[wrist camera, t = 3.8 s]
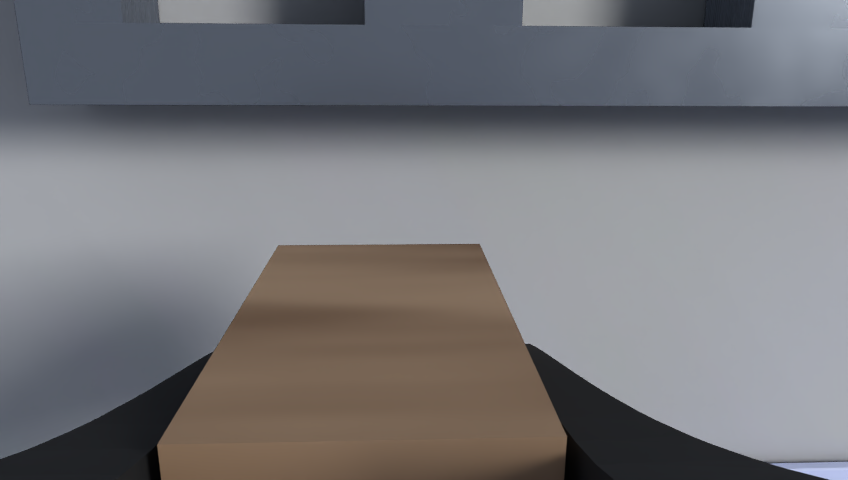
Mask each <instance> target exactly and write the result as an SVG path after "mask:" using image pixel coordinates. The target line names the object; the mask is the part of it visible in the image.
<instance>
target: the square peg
mask: <svg viewBox="0 0 848 480" xmlns="http://www.w3.org/2000/svg"><path fill="white" fill-rule="evenodd" d="M566 445H567V435H566V433H565V431H564V429H563V427H562V424H561V422H560V420H559V418H558V416H557V413H556V411H555V409H554V407H553V405H552V402H551V400H550V398H549V396H548V394H547V391H546V389H545V387H544V385H543V383H542V380H541V378H540V376H539V374H538V372H537V369H536V367H535V365H534V363H533V361H532V358H531V356H530V354H529V352H528V350H527V347H526V345H525V343H524V341H523V339H522V336H521V334H520V332H519V330H518V328H517V325H516V323H515V321H514V319H513V317H512V314H511V312H510V310H509V308H508V306H507V303H506V301H505V299H504V297H503V295H502V292H501V290H500V288H499V286H498V284H497V281H496V279H495V277H494V275H493V273H492V270H491V268H490V266H489V264H488V262H487V259H486V257H485V255H484V253H483V251H482V248H481V246H480V244H407V245H278V247H277V248H276V250H275V252H274V253H273V255H272V257H271V258H270V260H269V262H268V263H267V265H266V267H265V268H264V270H263V271H262V273H261V275H260V276H259V278H258V280H257V281H256V283H255V285H254V286H253V288H252V290H251V291H250V293H249V294H248V296H247V298H246V299H245V301H244V303H243V304H242V306H241V308H240V309H239V311H238V313H237V314H236V316H235V318H234V319H233V321H232V322H231V324H230V326H229V327H228V329H227V331H226V332H225V334H224V336H223V337H222V339H221V341H220V342H219V344H218V345H217V347H216V349H215V350H214V352H213V354H212V355H211V357H210V359H209V360H208V362H207V364H206V365H205V367H204V369H203V370H202V372H201V373H200V375H199V377H198V378H197V380H196V382H195V383H194V385H193V387H192V388H191V390H190V392H189V393H188V395H187V396H186V398H185V400H184V401H183V403H182V405H181V406H180V408H179V410H178V411H177V413H176V415H175V416H174V418H173V420H172V421H171V423H170V424H169V426H168V428H167V429H166V431H165V433H164V434H163V436H162V438H161V439H160V441H159V443H158V444H157V448H158V456H159V465H160V473H161V480H564V473H565V459H566Z"/></svg>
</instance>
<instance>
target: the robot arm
mask: <svg viewBox="0 0 848 480" xmlns="http://www.w3.org/2000/svg"><path fill="white" fill-rule="evenodd" d="M525 345H526V347H527V350H528V352H529V354H530V356H531V358H532V361H533V363H534V365H535V367H536V369H537V372H538V374H539V376H540V378H541V380H542V383H543V385H544V387H545V389H546V391H547V394H548V396H549V398H550V400H551V402H552V405H553V407H554V409H555V411H556V413H557V416H558V418H559V420H560V422H561V424H562V427H563V429H564V431H565V433H566V435H567V445H566V459H565V473H564V480H848V462H815V463H772V464H769V463H766V462H762V461H759V460H756V459H752V458H750V457H747V456H744V455H741V454H738V453H735V452H732V451H729V450H727V449H724V448H721V447H718V446H715V445H712V444H710V443H707V442H705V441H702V440H700V439H697V438H694V437H692V436H690V435H687V434H685V433H683V432H681V431H679V430H676V429H674V428H672V427H670V426H667V425H665V424H663V423H661V422H659V421H656V420H654V419H652V418H650V417H648V416H646V415H644V414H642V413H640V412H639V411H637V410H635V409H633V408H631V407H630V406H628V405H626V404H624V403H623V402H621V401H619V400H617V399H615V398H614V397H612V396H610V395H609V394H607V393H605V392H604V391H602V390H600V389H599V388H597V387H596V386H594V385H592V384H591V383H589V382H588V381H586V380H585V379H583V378H582V377H580V376H579V375H577V374H576V373H574V372H573V371H571V370H570V369H568V368H567V367H565V366H564V365H562V364H561V363H559V362H558V361H556V360H555V359H553V358H552V357H551V356H549V355H548V354H546V353H545V352H543V351H541V350H540V349H538V348H537V347H535V346H533V345H531V344H525ZM212 354H213V352H212V353H210V354H208V355H206V356H205V357H203V358H201V359H199V360H198V361H196V362H194V363H193V364H191V365H190V366H188V367H186V368H185V369H183V370H181V371H180V372H178V373H176V374H175V375H173V376H171V377H170V378H168V379H166V380H165V381H163V382H162V383H160V384H158V385H157V386H155V387H153V388H152V389H150V390H148V391H147V392H145V393H143V394H141V395H139V396H137V397H136V398H134V399H132V400H130V401H128V402H126V403H125V404H123V405H121V406H119V407H117V408H115V409H114V410H112V411H110V412H108V413H106V414H105V415H103V416H101V417H99V418H97V419H95V420H93V421H91V422H89V423H87V424H85V425H83V426H81V427H78V428H76V429H74V430H72V431H70V432H68V433H65V434H63V435H61V436H58V437H56V438H54V439H51V440H49V441H47V442H45V443H42V444H40V445H38V446H35V447H33V448H30V449H28V450H25V451H22V452H20V453H17V454H14V455H11V456H8V457H5V458H3V459H0V480H161V473H160V465H159V456H158V448H157V444H158V443H159V441H160V439H161V438H162V436H163V434H164V433H165V431H166V429H167V428H168V426H169V424H170V423H171V421H172V420H173V418H174V416H175V415H176V413H177V411H178V410H179V408H180V406H181V405H182V403H183V401H184V400H185V398H186V396H187V395H188V393H189V392H190V390H191V388H192V387H193V385H194V383H195V382H196V380H197V378H198V377H199V375H200V373H201V372H202V370H203V369H204V367H205V365H206V364H207V362H208V360H209V359H210V357H211V355H212Z"/></svg>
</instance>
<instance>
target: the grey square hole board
mask: <svg viewBox="0 0 848 480" xmlns="http://www.w3.org/2000/svg"><path fill="white" fill-rule="evenodd" d="M364 4H365V25H340V24H212V23H160V20H159V10H158V0H14V5H15V12H16V19H17V25H18V32H19V38H20V45H21V52H22V58H23V65H24V71H25V78H26V84H27V91H28V98H29V104H37V105H476V106H848V0H707V1H706V10H705V18H704V27H594V26H522V13H523V0H364Z"/></svg>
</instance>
